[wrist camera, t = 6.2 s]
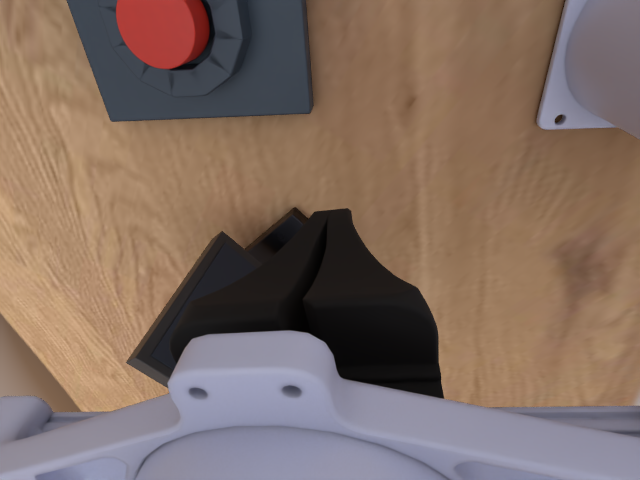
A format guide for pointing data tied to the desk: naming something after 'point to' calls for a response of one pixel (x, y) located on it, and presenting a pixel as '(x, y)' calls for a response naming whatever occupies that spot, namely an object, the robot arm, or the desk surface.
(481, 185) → the desk surface
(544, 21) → the desk surface
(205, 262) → the screen
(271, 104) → the switch box
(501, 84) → the desk surface
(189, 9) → the power button
